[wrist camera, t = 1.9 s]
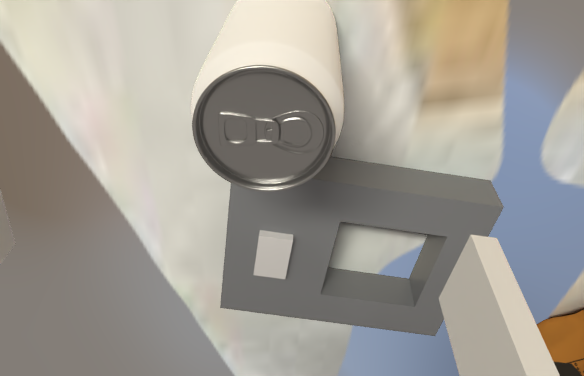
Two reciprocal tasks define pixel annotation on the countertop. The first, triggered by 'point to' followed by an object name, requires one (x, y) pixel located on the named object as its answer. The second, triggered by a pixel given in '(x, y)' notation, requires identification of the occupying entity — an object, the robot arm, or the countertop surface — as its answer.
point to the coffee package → (565, 339)
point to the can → (270, 94)
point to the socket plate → (322, 233)
